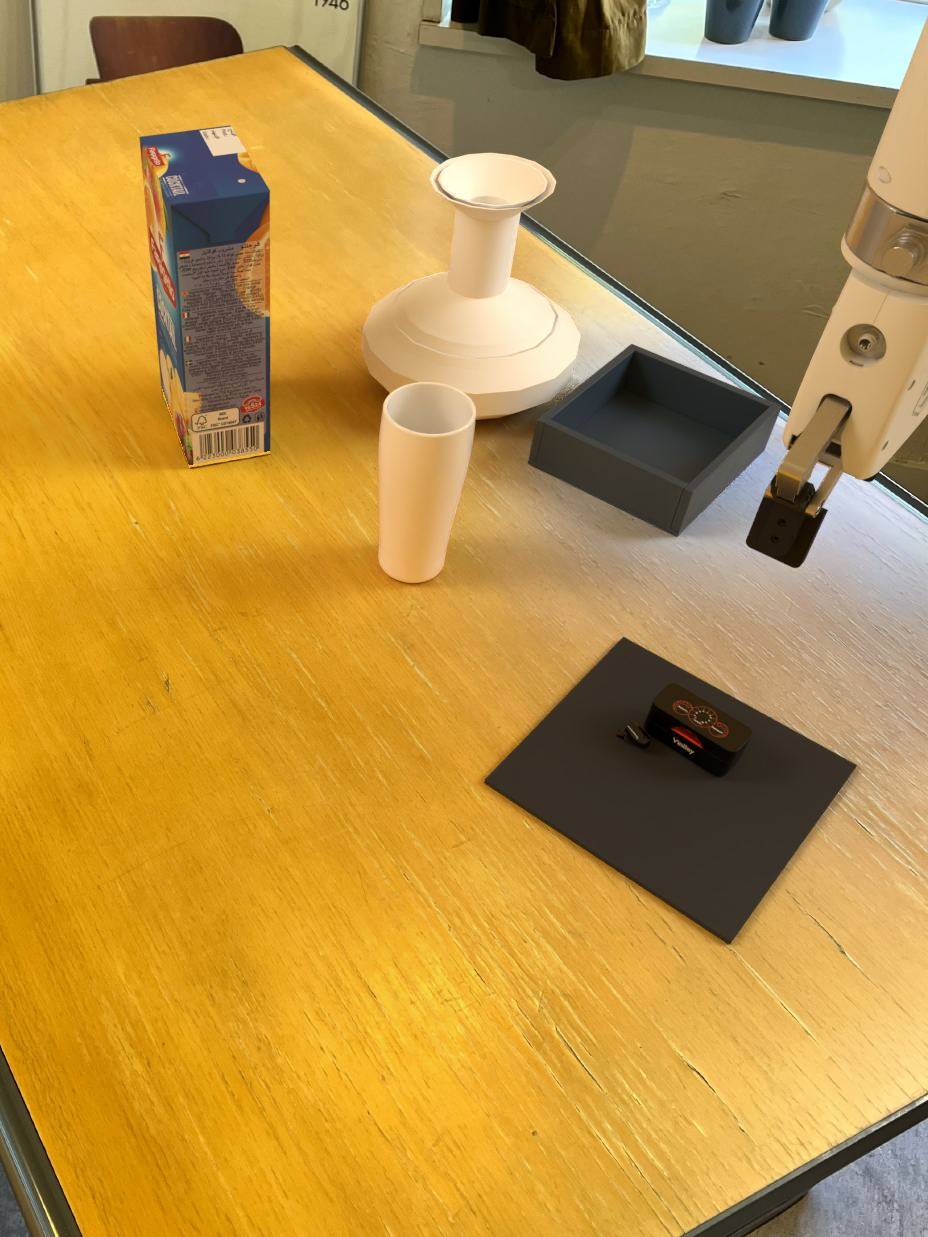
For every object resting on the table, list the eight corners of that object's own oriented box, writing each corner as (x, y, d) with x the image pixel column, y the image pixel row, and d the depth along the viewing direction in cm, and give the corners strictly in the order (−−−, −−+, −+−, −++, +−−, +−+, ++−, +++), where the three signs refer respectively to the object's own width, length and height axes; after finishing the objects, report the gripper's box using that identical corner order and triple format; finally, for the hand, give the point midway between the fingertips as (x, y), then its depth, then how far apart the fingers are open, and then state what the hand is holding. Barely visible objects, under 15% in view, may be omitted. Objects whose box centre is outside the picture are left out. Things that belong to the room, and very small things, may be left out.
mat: (855, 768, 77) (857, 764, 77) (729, 945, 68) (731, 942, 68) (622, 639, 85) (623, 636, 85) (483, 782, 76) (484, 779, 76)
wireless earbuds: (650, 704, 80) (661, 674, 78) (740, 760, 77) (756, 731, 74) (613, 740, 78) (623, 710, 76) (704, 800, 75) (719, 771, 72)
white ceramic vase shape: (614, 385, 107) (667, 185, 93) (469, 472, 99) (502, 266, 84) (460, 301, 117) (485, 109, 103) (316, 373, 109) (323, 175, 95)
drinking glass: (358, 582, 90) (371, 426, 78) (380, 529, 94) (394, 373, 83) (442, 601, 88) (467, 444, 77) (460, 545, 92) (486, 389, 81)
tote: (764, 450, 100) (782, 405, 97) (677, 537, 93) (692, 492, 89) (619, 387, 107) (631, 343, 103) (527, 463, 99) (536, 419, 96)
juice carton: (270, 455, 101) (270, 190, 83) (189, 469, 99) (170, 204, 81) (237, 381, 108) (230, 124, 90) (161, 393, 107) (139, 136, 89)
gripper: (949, 335, 47) (808, 623, 59) (1084, 185, 55) (935, 466, 68) (776, 276, 50) (678, 560, 63) (928, 142, 58) (814, 418, 71)
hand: (811, 511), depth 65 cm, fingers open, 9 cm apart
